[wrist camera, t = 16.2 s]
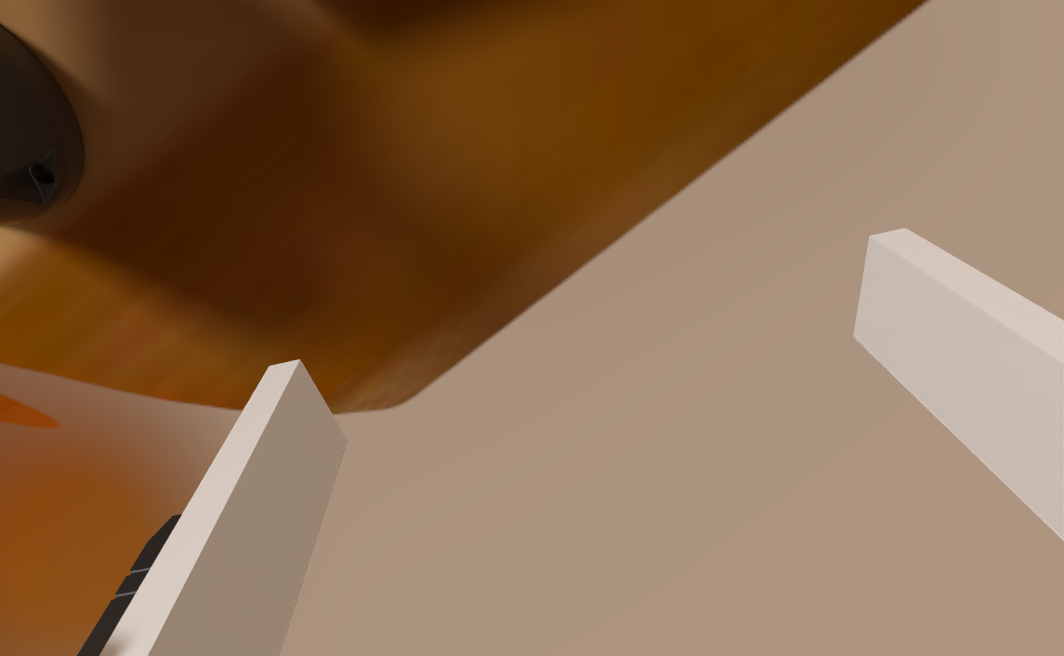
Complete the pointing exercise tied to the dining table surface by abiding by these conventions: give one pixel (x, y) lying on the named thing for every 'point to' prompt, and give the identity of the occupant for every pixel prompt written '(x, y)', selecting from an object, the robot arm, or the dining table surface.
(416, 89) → the dining table surface
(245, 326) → the dining table surface
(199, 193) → the dining table surface
